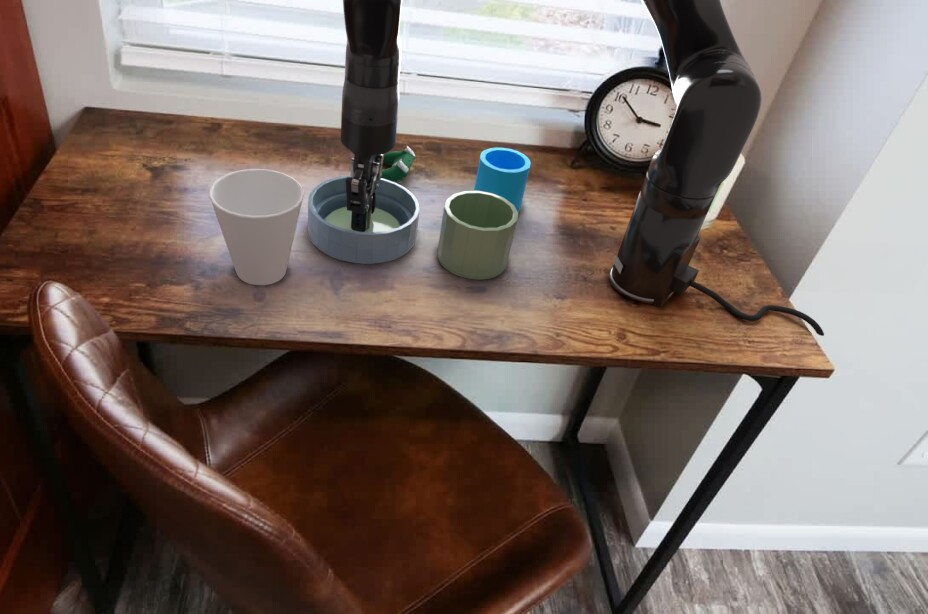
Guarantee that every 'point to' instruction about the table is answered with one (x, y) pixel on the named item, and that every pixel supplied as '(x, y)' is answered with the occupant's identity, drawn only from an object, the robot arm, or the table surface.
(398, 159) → the gaming controller
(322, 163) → the table surface
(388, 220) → the lid
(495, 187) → the mug
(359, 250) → the bowl
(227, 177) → the cup
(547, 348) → the table surface
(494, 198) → the canister
